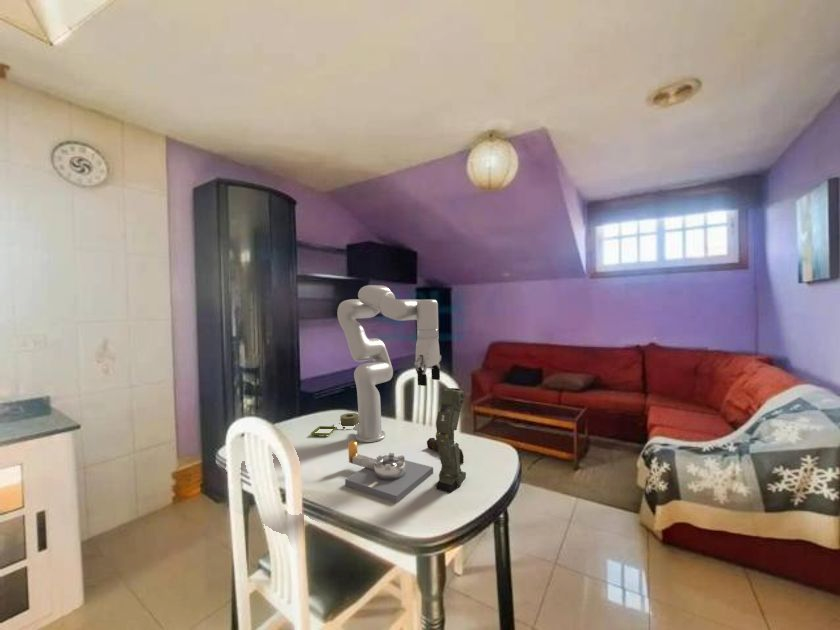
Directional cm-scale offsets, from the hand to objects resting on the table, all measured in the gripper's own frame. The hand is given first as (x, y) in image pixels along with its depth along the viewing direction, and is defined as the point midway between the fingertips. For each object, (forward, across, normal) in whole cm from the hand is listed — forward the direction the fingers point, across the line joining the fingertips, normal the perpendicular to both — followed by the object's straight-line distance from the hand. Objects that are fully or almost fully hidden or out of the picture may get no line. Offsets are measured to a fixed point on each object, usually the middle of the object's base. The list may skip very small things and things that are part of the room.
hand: (429, 382), depth 124 cm
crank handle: (+26, +18, -11) cm, 33 cm away
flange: (+30, -16, -54) cm, 63 cm away
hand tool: (+28, -6, +3) cm, 29 cm away
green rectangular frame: (+29, -2, -56) cm, 63 cm away
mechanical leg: (+28, +11, +14) cm, 33 cm away
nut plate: (+28, +18, -5) cm, 34 cm away
